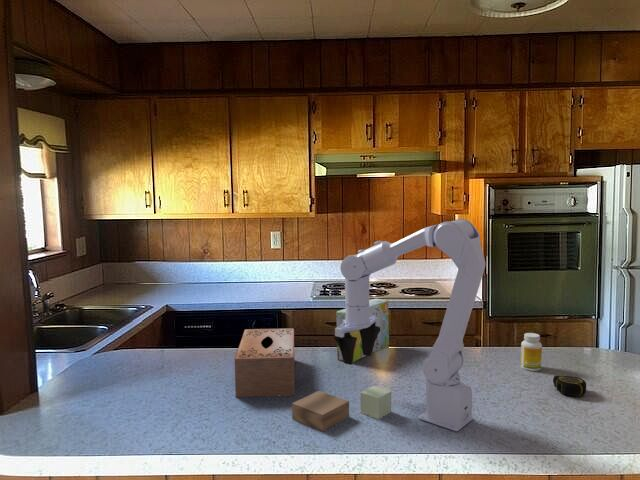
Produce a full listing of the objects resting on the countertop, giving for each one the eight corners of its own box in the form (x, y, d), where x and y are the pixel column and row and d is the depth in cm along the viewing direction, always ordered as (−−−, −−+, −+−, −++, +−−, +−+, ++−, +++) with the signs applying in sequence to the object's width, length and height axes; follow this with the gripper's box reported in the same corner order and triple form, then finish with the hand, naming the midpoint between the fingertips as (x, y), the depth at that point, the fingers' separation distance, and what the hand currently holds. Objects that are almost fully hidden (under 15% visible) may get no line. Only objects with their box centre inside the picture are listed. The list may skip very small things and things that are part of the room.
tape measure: (581, 389, 128) (582, 375, 128) (589, 400, 122) (590, 385, 121) (552, 387, 130) (553, 372, 130) (558, 397, 123) (558, 383, 123)
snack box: (375, 342, 168) (375, 297, 166) (389, 345, 164) (390, 300, 163) (335, 360, 152) (335, 310, 150) (351, 364, 148) (351, 313, 146)
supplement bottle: (516, 365, 145) (517, 332, 144) (533, 363, 146) (534, 331, 145) (528, 372, 140) (529, 338, 139) (545, 370, 141) (546, 336, 140)
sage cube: (391, 412, 117) (391, 391, 116) (378, 419, 113) (378, 398, 112) (373, 406, 120) (373, 385, 119) (360, 413, 116) (360, 392, 116)
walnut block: (349, 418, 114) (349, 401, 114) (322, 433, 108) (322, 414, 107) (319, 407, 120) (318, 390, 120) (292, 420, 114) (292, 403, 113)
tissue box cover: (294, 396, 126) (293, 357, 125) (235, 398, 125) (234, 359, 124) (294, 360, 152) (293, 328, 151) (245, 362, 151) (244, 329, 150)
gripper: (362, 296, 130) (362, 348, 132) (324, 307, 119) (325, 363, 121) (385, 300, 125) (385, 354, 127) (348, 312, 115) (349, 370, 116)
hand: (357, 359), depth 124 cm, fingers open, 7 cm apart
